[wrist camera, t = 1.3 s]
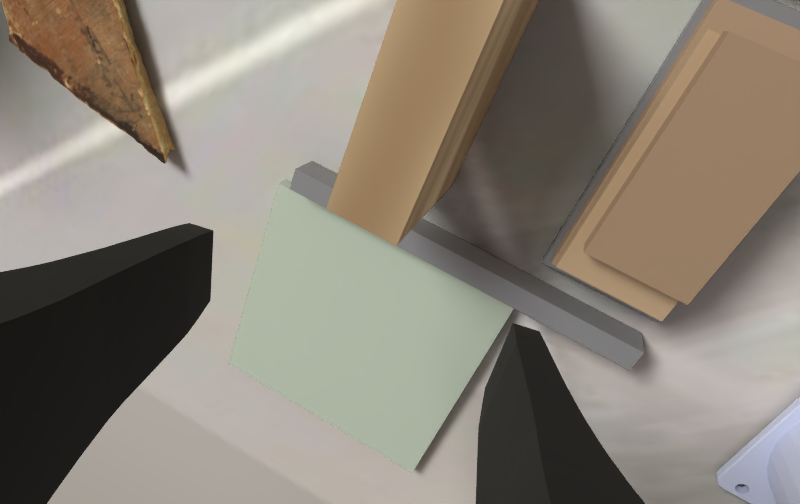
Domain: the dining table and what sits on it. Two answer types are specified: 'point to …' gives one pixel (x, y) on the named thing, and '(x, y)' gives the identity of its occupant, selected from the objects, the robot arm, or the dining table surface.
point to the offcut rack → (656, 183)
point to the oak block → (424, 108)
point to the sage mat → (360, 329)
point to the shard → (92, 61)
